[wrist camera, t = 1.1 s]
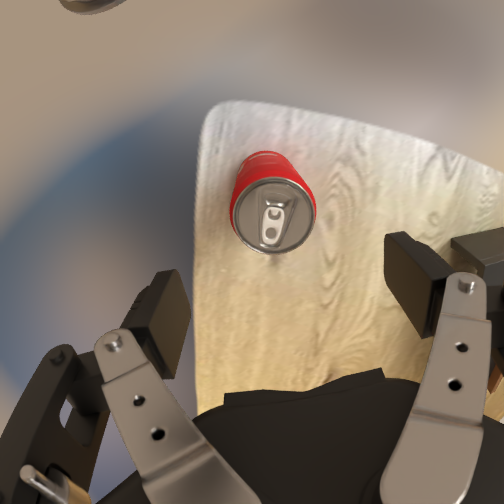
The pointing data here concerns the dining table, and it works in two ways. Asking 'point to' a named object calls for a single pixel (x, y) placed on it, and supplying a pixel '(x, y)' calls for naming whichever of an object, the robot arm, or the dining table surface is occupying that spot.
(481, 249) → the shelf
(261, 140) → the dining table surface
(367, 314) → the dining table surface
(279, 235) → the beverage can
